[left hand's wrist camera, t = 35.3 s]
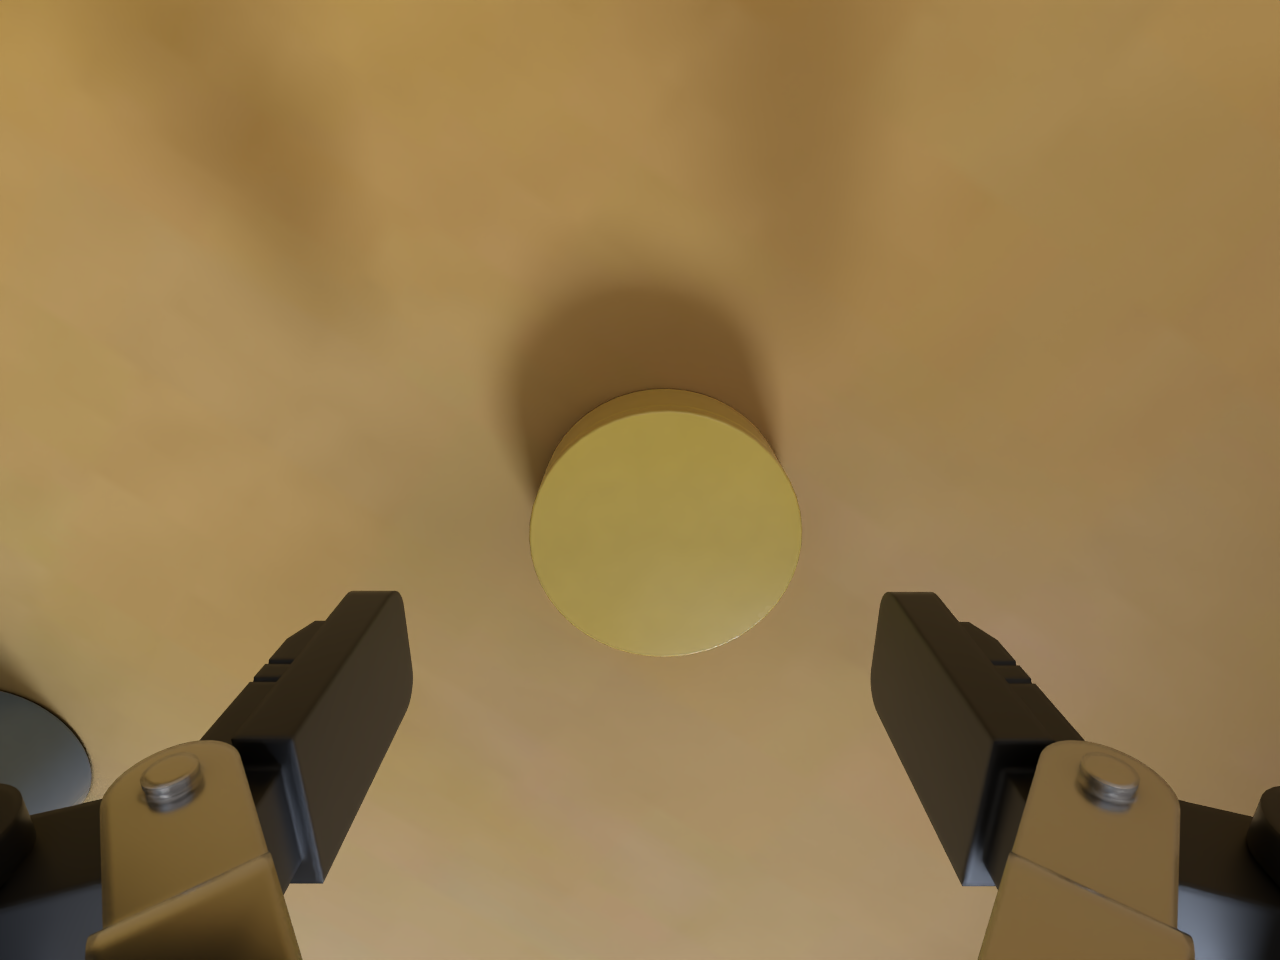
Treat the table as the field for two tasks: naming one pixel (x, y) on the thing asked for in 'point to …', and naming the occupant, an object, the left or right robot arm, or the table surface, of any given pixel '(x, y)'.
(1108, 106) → the table surface
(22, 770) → the blue grey cylinder
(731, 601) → the lid
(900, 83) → the table surface
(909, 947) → the table surface
